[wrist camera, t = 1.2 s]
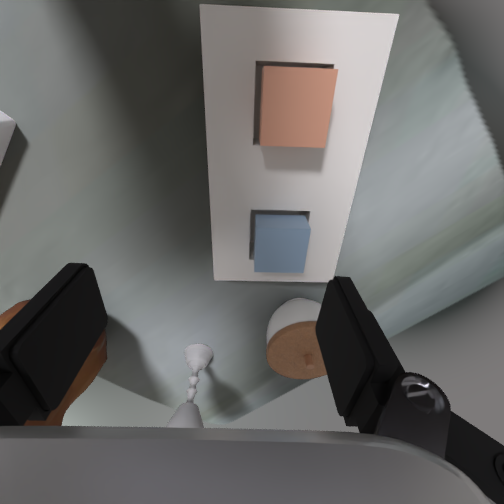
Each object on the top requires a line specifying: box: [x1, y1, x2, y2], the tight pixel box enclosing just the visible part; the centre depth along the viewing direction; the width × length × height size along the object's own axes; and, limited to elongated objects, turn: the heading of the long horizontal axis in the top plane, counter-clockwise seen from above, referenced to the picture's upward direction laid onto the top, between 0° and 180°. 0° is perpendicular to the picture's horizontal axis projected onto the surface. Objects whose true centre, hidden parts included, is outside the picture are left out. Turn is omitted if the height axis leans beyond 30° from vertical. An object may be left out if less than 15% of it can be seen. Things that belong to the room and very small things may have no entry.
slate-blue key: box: [254, 214, 311, 273], centre depth 26 cm, size 5×5×3 cm
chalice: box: [166, 344, 213, 428], centre depth 38 cm, size 7×7×18 cm
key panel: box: [199, 4, 399, 282], centre depth 27 cm, size 24×14×5 cm, turn 178°
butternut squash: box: [0, 300, 107, 426], centre depth 29 cm, size 14×13×25 cm
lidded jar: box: [266, 298, 327, 379], centre depth 37 cm, size 11×11×9 cm
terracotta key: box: [259, 66, 338, 148], centre depth 20 cm, size 5×5×3 cm
